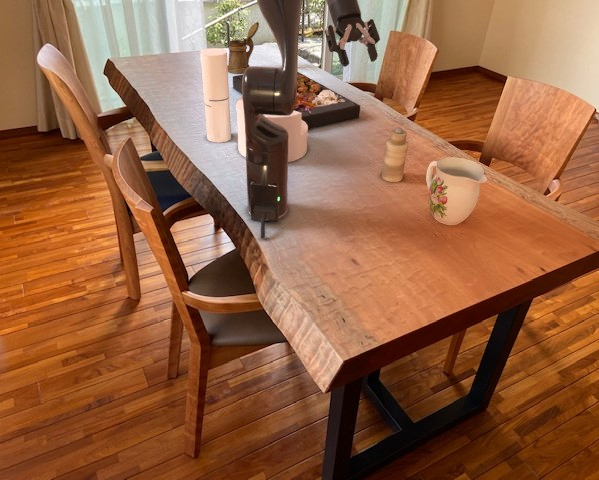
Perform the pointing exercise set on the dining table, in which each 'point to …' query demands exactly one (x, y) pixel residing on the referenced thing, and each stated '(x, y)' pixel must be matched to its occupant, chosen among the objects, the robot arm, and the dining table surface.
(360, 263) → the dining table surface
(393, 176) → the pepper mill
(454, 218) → the pitcher
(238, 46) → the wooden mug
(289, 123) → the container
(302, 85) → the food platter
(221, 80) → the cylindrical container
